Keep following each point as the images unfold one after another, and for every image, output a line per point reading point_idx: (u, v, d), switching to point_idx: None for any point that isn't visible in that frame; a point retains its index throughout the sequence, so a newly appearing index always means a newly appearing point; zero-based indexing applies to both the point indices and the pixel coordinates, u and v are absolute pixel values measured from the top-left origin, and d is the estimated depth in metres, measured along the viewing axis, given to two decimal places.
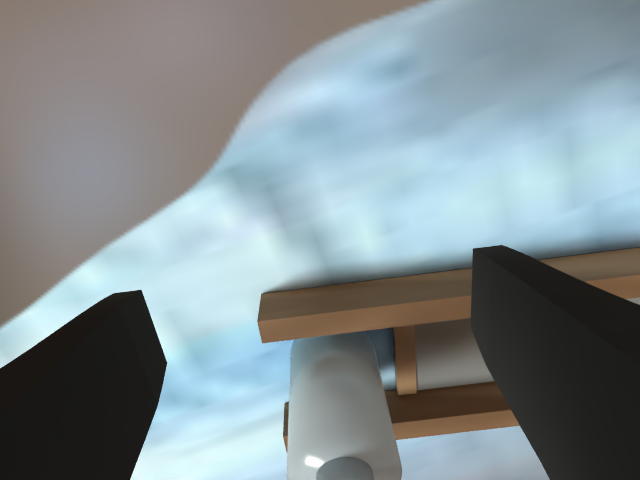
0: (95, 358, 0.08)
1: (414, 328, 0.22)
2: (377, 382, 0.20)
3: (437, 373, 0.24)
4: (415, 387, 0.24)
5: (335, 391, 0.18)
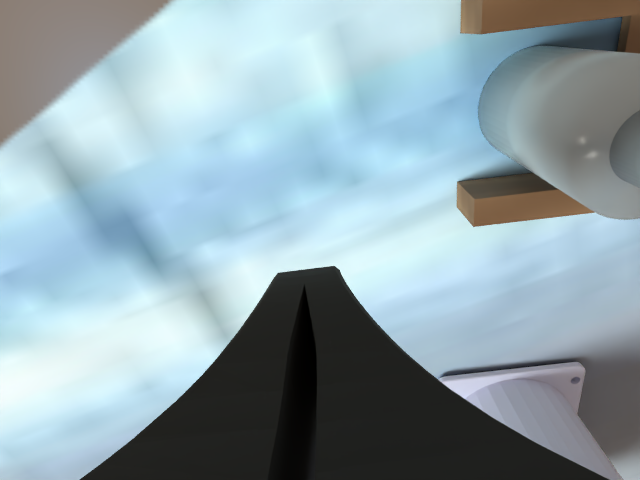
0: (301, 333, 0.07)
1: None
2: None
3: None
4: None
5: (615, 52, 0.13)
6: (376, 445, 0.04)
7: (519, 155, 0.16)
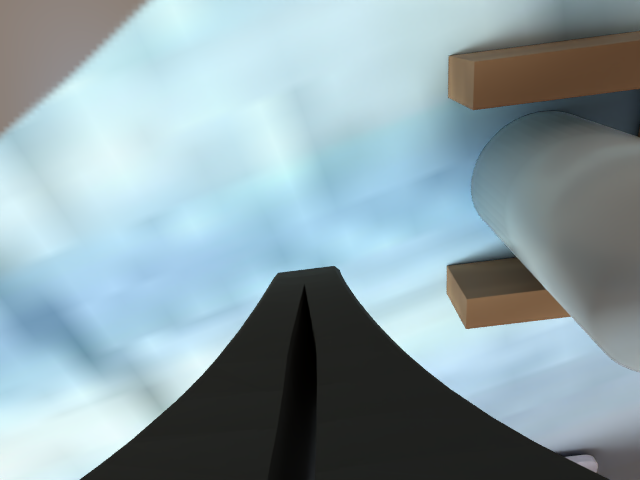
0: (301, 333, 0.07)
1: None
2: None
3: None
4: None
5: None
6: (375, 445, 0.04)
7: (522, 260, 0.12)
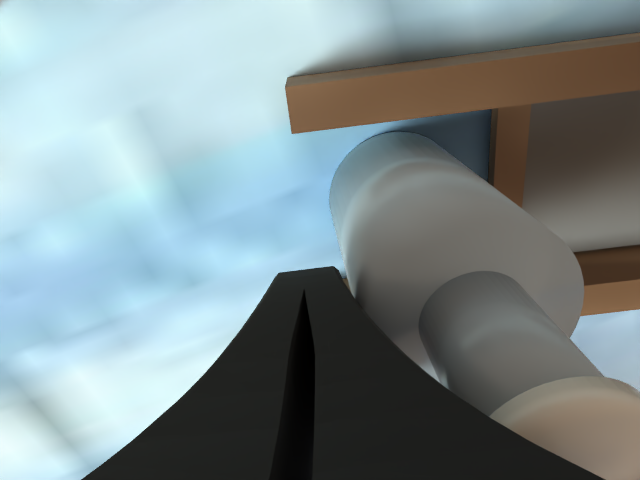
0: (302, 333, 0.07)
1: (526, 145, 0.14)
2: None
3: (551, 229, 0.15)
4: None
5: (440, 178, 0.10)
6: (372, 445, 0.04)
7: None
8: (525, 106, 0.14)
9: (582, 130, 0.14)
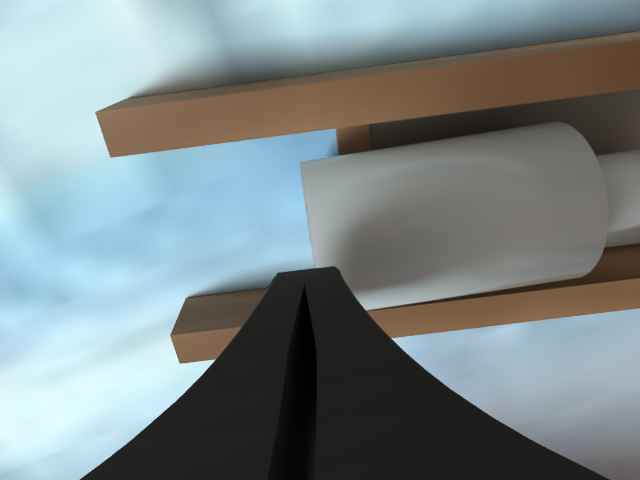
0: (301, 333, 0.07)
1: None
2: None
3: None
4: None
5: (480, 135, 0.12)
6: (375, 445, 0.04)
7: (461, 283, 0.11)
8: (364, 126, 0.14)
9: None
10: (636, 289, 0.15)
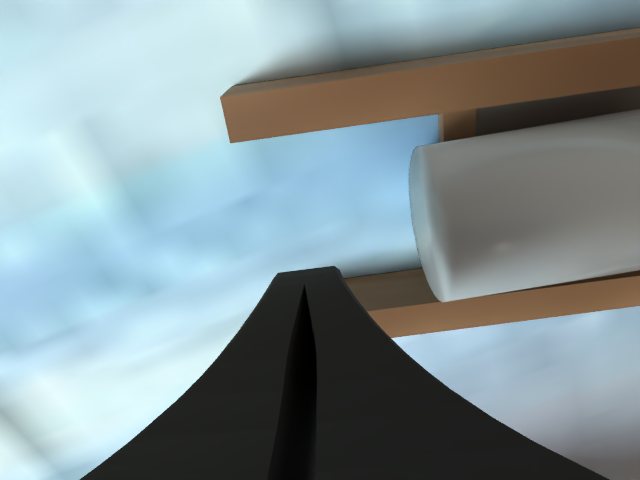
0: (301, 333, 0.07)
1: None
2: None
3: None
4: None
5: (605, 117, 0.12)
6: (376, 446, 0.04)
7: (592, 266, 0.11)
8: (470, 111, 0.14)
9: None
10: None
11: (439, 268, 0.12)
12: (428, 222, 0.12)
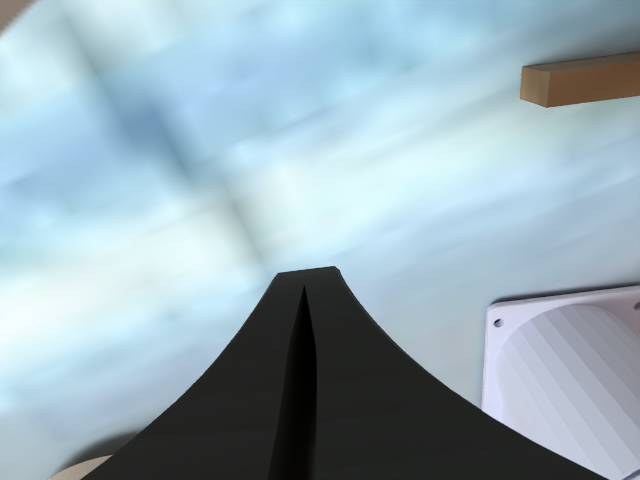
0: (301, 333, 0.07)
1: None
2: None
3: None
4: None
5: None
6: (375, 446, 0.04)
7: None
8: None
9: None
10: None
11: None
12: None
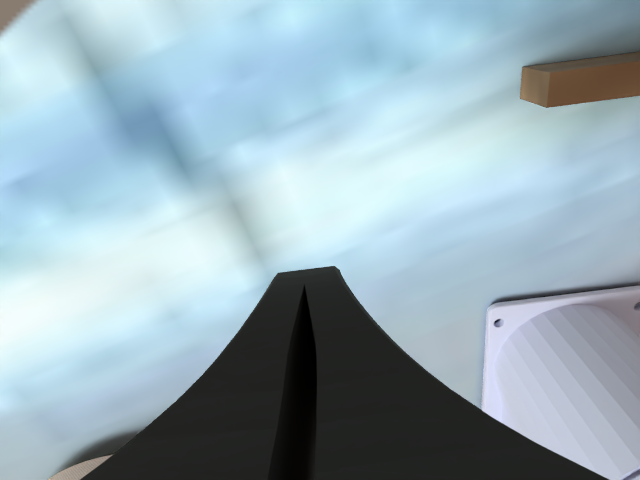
0: (301, 333, 0.07)
1: None
2: None
3: None
4: None
5: None
6: (375, 446, 0.04)
7: None
8: None
9: None
10: None
11: None
12: None
